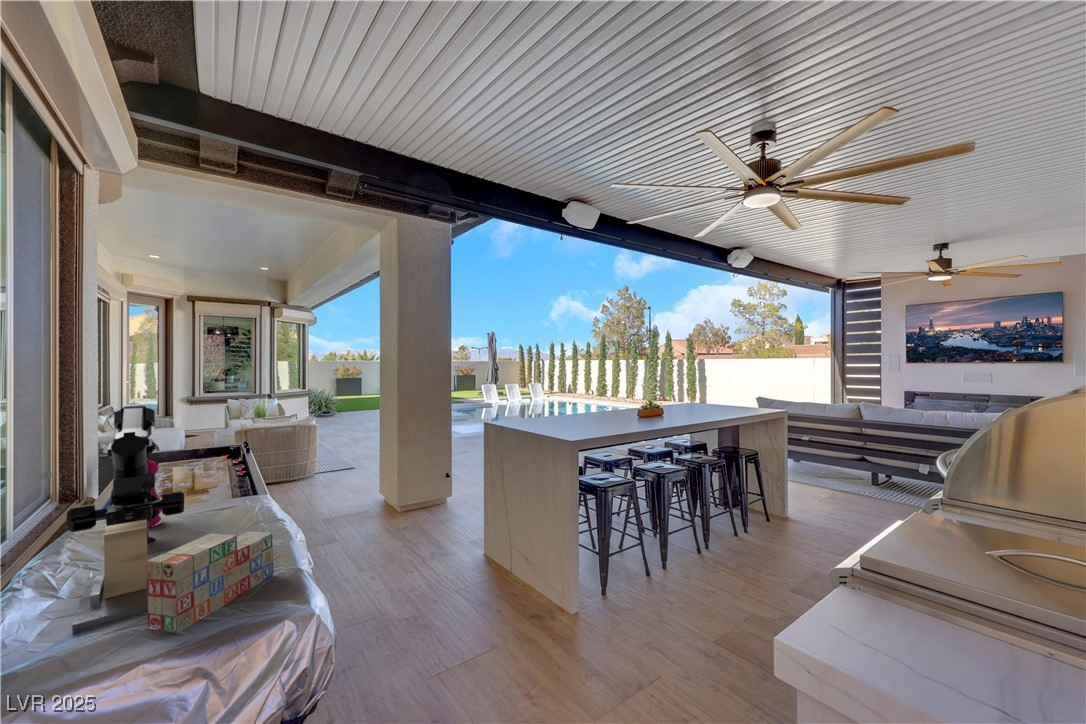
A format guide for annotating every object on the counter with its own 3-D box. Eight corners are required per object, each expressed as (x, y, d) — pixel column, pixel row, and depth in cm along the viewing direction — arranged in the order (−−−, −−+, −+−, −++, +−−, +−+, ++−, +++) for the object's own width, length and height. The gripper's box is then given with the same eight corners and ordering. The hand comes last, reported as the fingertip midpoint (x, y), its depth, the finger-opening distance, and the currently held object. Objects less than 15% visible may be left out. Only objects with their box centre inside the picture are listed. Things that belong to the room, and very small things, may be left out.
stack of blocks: (249, 573, 100) (248, 516, 100) (274, 575, 99) (273, 518, 98) (146, 630, 79) (146, 559, 79) (176, 634, 78) (176, 562, 77)
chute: (87, 584, 94) (87, 568, 94) (169, 566, 103) (168, 550, 103) (72, 633, 78) (72, 613, 78) (171, 606, 86) (170, 588, 86)
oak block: (107, 586, 91) (106, 526, 90) (147, 577, 94) (146, 519, 94) (104, 598, 86) (104, 535, 86) (147, 588, 90) (146, 527, 90)
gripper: (67, 468, 93) (58, 538, 85) (183, 455, 105) (186, 516, 97) (73, 498, 99) (66, 566, 91) (182, 482, 111) (185, 541, 103)
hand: (128, 546), depth 95 cm, fingers closed
